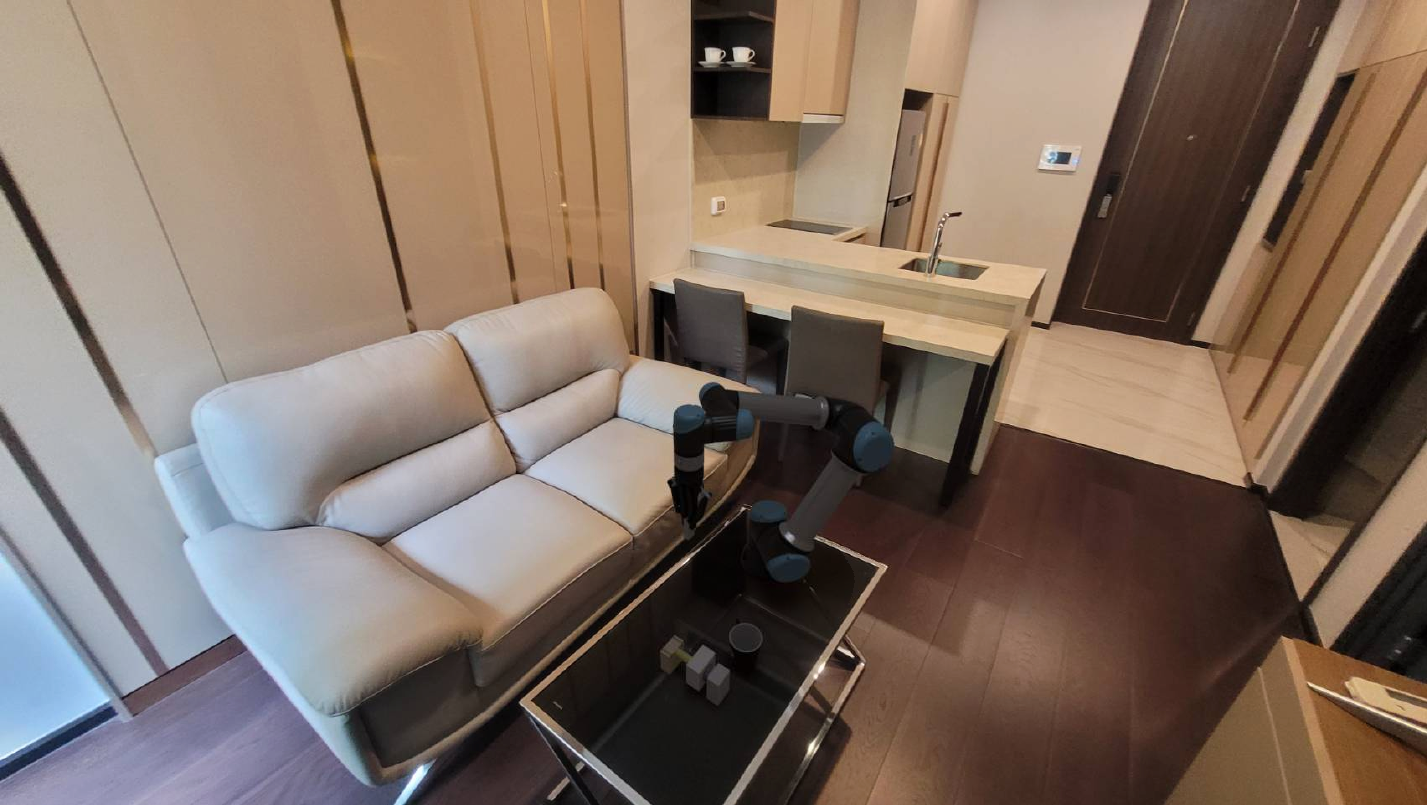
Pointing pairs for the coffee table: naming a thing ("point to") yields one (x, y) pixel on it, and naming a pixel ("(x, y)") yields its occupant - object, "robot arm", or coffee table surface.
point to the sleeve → (699, 667)
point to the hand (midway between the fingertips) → (689, 536)
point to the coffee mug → (744, 646)
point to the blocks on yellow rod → (713, 675)
